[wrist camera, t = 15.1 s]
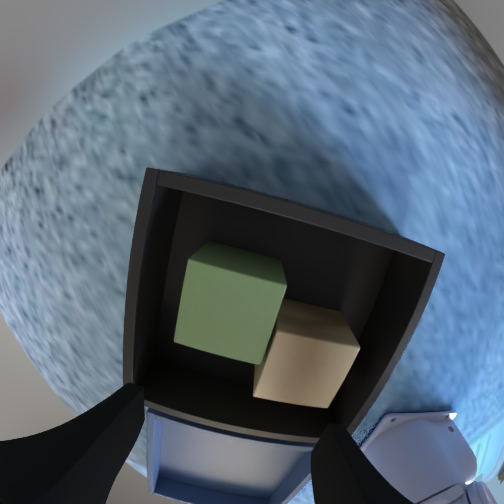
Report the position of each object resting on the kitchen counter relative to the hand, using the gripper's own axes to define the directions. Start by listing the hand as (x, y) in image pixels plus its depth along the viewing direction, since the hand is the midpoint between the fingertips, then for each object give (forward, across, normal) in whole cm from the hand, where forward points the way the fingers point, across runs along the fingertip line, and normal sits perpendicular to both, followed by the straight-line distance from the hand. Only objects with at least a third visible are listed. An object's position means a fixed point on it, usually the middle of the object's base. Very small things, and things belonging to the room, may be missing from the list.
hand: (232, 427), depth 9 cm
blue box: (+8, -1, +14) cm, 16 cm away
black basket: (+8, -1, -2) cm, 8 cm away
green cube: (+7, +1, -3) cm, 8 cm away
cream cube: (+7, -3, -1) cm, 8 cm away
